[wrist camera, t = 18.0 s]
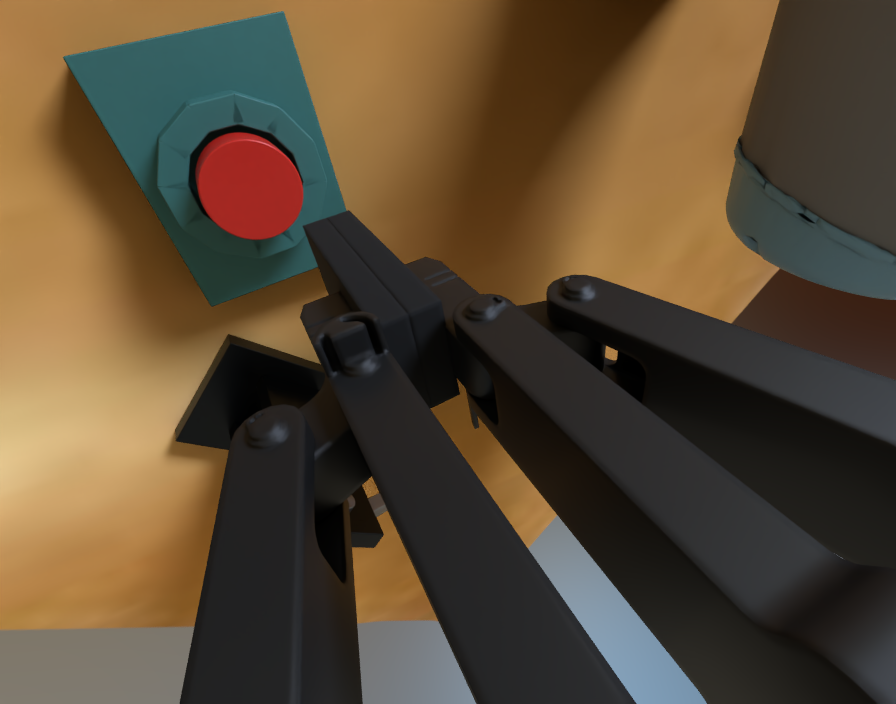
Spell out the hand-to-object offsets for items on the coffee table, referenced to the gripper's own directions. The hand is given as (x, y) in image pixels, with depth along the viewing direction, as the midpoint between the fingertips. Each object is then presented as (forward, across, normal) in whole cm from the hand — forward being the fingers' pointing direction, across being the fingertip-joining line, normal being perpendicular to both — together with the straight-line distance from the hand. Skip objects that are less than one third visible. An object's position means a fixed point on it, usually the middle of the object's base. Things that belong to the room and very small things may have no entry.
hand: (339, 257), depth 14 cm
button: (+11, -2, 0) cm, 11 cm away
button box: (+14, -2, 0) cm, 14 cm away
